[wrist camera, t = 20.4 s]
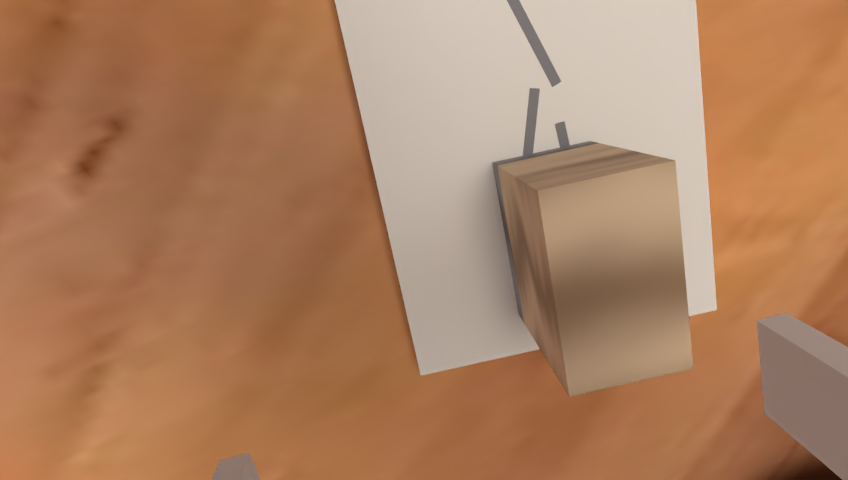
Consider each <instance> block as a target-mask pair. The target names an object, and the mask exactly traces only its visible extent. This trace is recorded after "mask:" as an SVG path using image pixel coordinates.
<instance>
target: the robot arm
mask: <svg viewBox="0 0 848 480" xmlns="http://www.w3.org/2000/svg"><path fill="white" fill-rule="evenodd" d="M757 329H758V341H759V353H760V365H761V378H762V390H763V402H764V413H765V414H766V415H767V416H768V417H770V418H771V419H772V420H773V421H774V422H775V423H777V424H778V425H779V426H780V427H781V428H782V429H784V430H785V431H786V432H787V433H788V434H789V435H791V436H792V437H793V438H794V439H795V440H796V441H798V442H799V443H800V444H801V445H802V446H803V447H805V448H806V449H807V450H808V451H809V452H811V453H812V454H813V455H814V456H815V457H816V458H818V459H819V460H820V461H821V462H822V463H823V464H825V465H826V466H827V467H828V468H829V469H830V470H832V471H833V472H834V473H835V474H836V475H837V476H839V477H840V478H841V479H842V480H848V347H846V346H845V345H843V344H841V343H839V342H838V341H836V340H834V339H832V338H830V337H829V336H827V335H825V334H823V333H821V332H820V331H818V330H816V329H814V328H813V327H811V326H809V325H807V324H805V323H804V322H802V321H800V320H798V319H796V318H795V317H793V316H791V315H789V314H788V313H783V314H780V315H776V316H772V317H768V318H764V319H760V320H757ZM212 480H260V478H259V475H258V473H257V470H256V468H255V465H254V463H253V460H252V458H251V455H250V453H247V454H243V455H239V456H235V457H232V458H228V459H224V460H220V461H219V464H218V466H217V468H216V471H215V473H214V475H213V478H212Z"/></svg>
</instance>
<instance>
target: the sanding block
mask: <svg viewBox="0 0 848 480" xmlns="http://www.w3.org/2000/svg"><path fill="white" fill-rule="evenodd" d="M492 164H493V170H494V176H495V181H496V187H497V193H498V198H499V204H500V210H501V216H502V221H503V227H504V233H505V238H506V244H507V250H508V256H509V261H510V267H511V273H512V278H513V284H514V290H515V296H516V301H517V307H518V313H519V316H520V317H521V319H522V321H523V322H524V324H525V326H526V327H527V329H528V330H529V332H530V334H531V335H532V337H533V338H534V340H535V342H536V343H537V345H538V347H539V348H540V350H541V351H542V353H543V355H544V356H545V358H546V360H547V361H548V363H549V364H550V366H551V368H552V369H553V371H554V372H555V374H556V376H557V377H558V379H559V381H560V382H561V384H562V385H563V387H564V389H565V390H566V392H567V394H568V395H569V397H570V396H574V395H579V394H583V393H588V392H592V391H596V390H601V389H605V388H610V387H614V386H619V385H623V384H627V383H632V382H636V381H641V380H645V379H649V378H654V377H658V376H663V375H667V374H672V373H676V372H680V371H685V370H689V369H693V360H692V348H691V336H690V325H689V313H688V301H687V290H686V278H685V267H684V255H683V243H682V232H681V220H680V208H679V197H678V185H677V173H676V162H675V160H672V159H667V158H663V157H659V156H654V155H650V154H645V153H641V152H637V151H632V150H628V149H623V148H619V147H615V146H610V145H606V144H601V143H597V142H593V141H588V142H583V143H578V144H574V145H569V146H565V147H560V148H556V149H551V150H546V151H542V152H537V153H533V154H528V155H524V156H519V157H514V158H510V159H505V160H501V161H496V162H492Z"/></svg>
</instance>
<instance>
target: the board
mask: <svg viewBox="0 0 848 480" xmlns="http://www.w3.org/2000/svg"><path fill="white" fill-rule="evenodd" d="M335 4H336V8H337V13H338V17H339V22H340V26H341V30H342V35H343V39H344V43H345V48H346V52H347V56H348V61H349V65H350V69H351V74H352V78H353V83H354V87H355V91H356V96H357V100H358V104H359V109H360V113H361V117H362V122H363V126H364V130H365V135H366V139H367V144H368V148H369V152H370V157H371V161H372V165H373V170H374V174H375V178H376V183H377V187H378V191H379V196H380V200H381V205H382V209H383V213H384V218H385V222H386V226H387V231H388V235H389V239H390V244H391V248H392V252H393V257H394V261H395V266H396V270H397V274H398V279H399V283H400V287H401V292H402V296H403V300H404V305H405V309H406V313H407V318H408V322H409V326H410V331H411V335H412V340H413V344H414V348H415V353H416V357H417V361H418V366H419V370H420V374H421V376H422V375H426V374H431V373H435V372H440V371H444V370H449V369H453V368H458V367H462V366H467V365H471V364H476V363H480V362H485V361H489V360H494V359H498V358H503V357H507V356H512V355H516V354H521V353H525V352H530V351H534V350H539V349H540V348H539V347H538V345H537V343H536V342H535V340H534V338H533V337H532V335H531V334H530V332H529V330H528V329H527V327H526V326H525V324H524V322H523V321H522V319H521V317H520V316H519V313H518V307H517V301H516V296H515V290H514V284H513V278H512V273H511V267H510V261H509V256H508V250H507V244H506V238H505V233H504V227H503V221H502V216H501V210H500V204H499V198H498V193H497V187H496V181H495V176H494V170H493V164H492V162H496V161H501V160H505V159H510V158H514V157H519V156H524V155H528V154H533V153H537V152H542V151H546V150H551V149H556V148H560V147H565V146H569V145H574V144H578V143H583V142H588V141H593V142H597V143H601V144H606V145H610V146H615V147H619V148H623V149H628V150H632V151H637V152H641V153H645V154H650V155H654V156H659V157H663V158H667V159H672V160H675V162H676V173H677V185H678V197H679V208H680V220H681V232H682V243H683V255H684V267H685V278H686V290H687V301H688V313H689V316H692V315H696V314H701V313H705V312H710V311H714V310H717V305H716V290H715V276H714V261H713V246H712V231H711V217H710V202H709V187H708V172H707V158H706V143H705V128H704V113H703V99H702V84H701V69H700V54H699V40H698V25H697V10H696V0H335Z"/></svg>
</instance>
